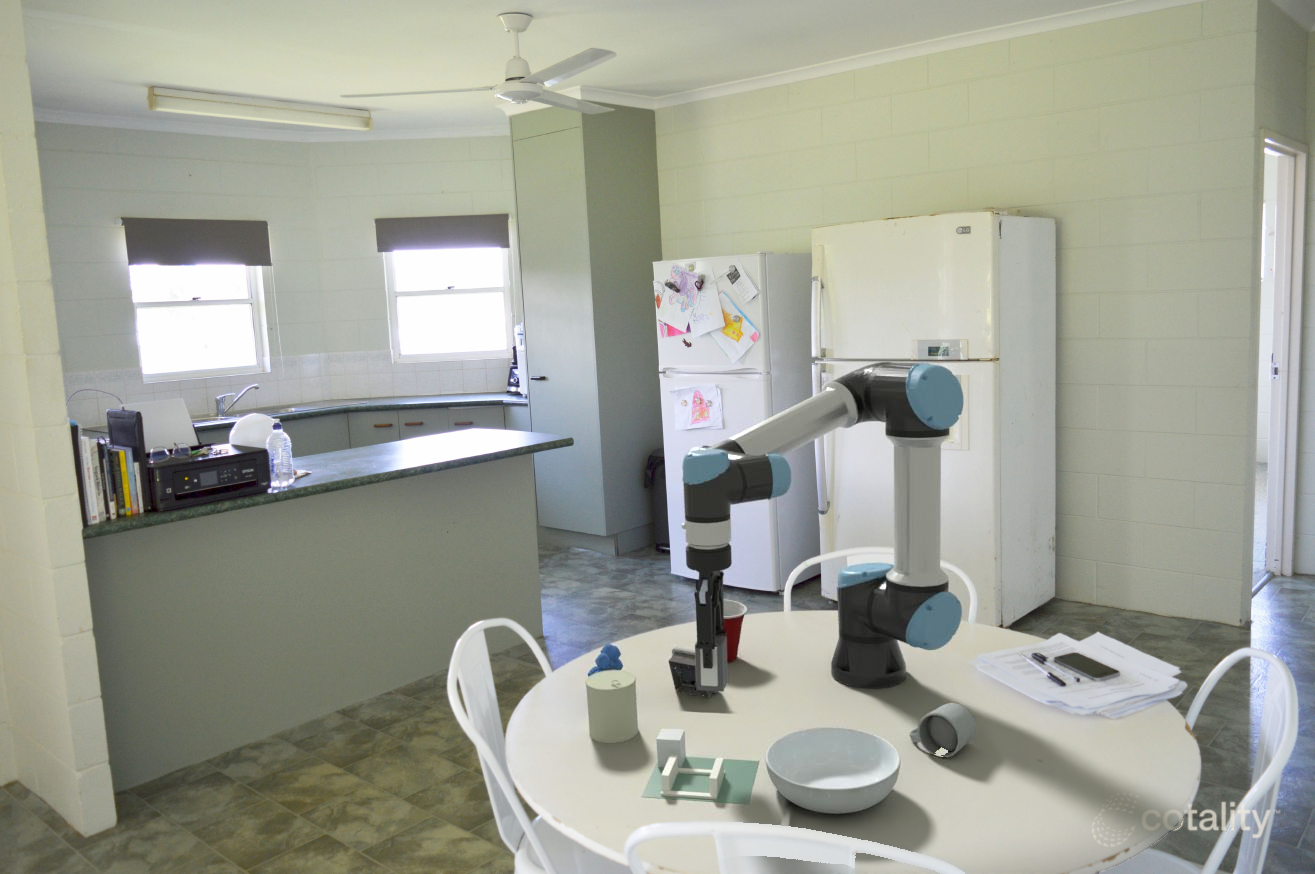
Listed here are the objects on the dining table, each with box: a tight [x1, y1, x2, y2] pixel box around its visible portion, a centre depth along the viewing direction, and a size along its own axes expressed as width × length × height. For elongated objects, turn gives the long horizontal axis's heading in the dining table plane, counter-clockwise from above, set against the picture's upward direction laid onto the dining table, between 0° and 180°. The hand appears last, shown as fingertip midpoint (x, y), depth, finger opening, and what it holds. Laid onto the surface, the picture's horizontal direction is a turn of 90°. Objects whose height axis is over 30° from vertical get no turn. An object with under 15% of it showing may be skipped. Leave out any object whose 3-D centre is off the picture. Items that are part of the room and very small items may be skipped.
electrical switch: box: [668, 646, 720, 699], centre depth 195 cm, size 9×5×9 cm, turn 57°
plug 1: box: [655, 728, 687, 768], centre depth 163 cm, size 4×4×5 cm
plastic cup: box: [720, 598, 748, 664], centre depth 212 cm, size 11×11×12 cm
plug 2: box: [694, 636, 729, 692], centre depth 162 cm, size 5×4×8 cm
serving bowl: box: [764, 726, 901, 814], centre depth 153 cm, size 21×21×7 cm
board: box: [640, 755, 760, 805], centre depth 158 cm, size 17×14×4 cm
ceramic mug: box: [909, 702, 977, 758], centre depth 167 cm, size 11×8×8 cm
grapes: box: [587, 643, 624, 678], centre depth 192 cm, size 12×7×12 cm, turn 161°
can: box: [585, 669, 639, 744], centre depth 176 cm, size 9×9×12 cm
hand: (712, 678), depth 163 cm, fingers closed on plug 2, 4 cm apart
